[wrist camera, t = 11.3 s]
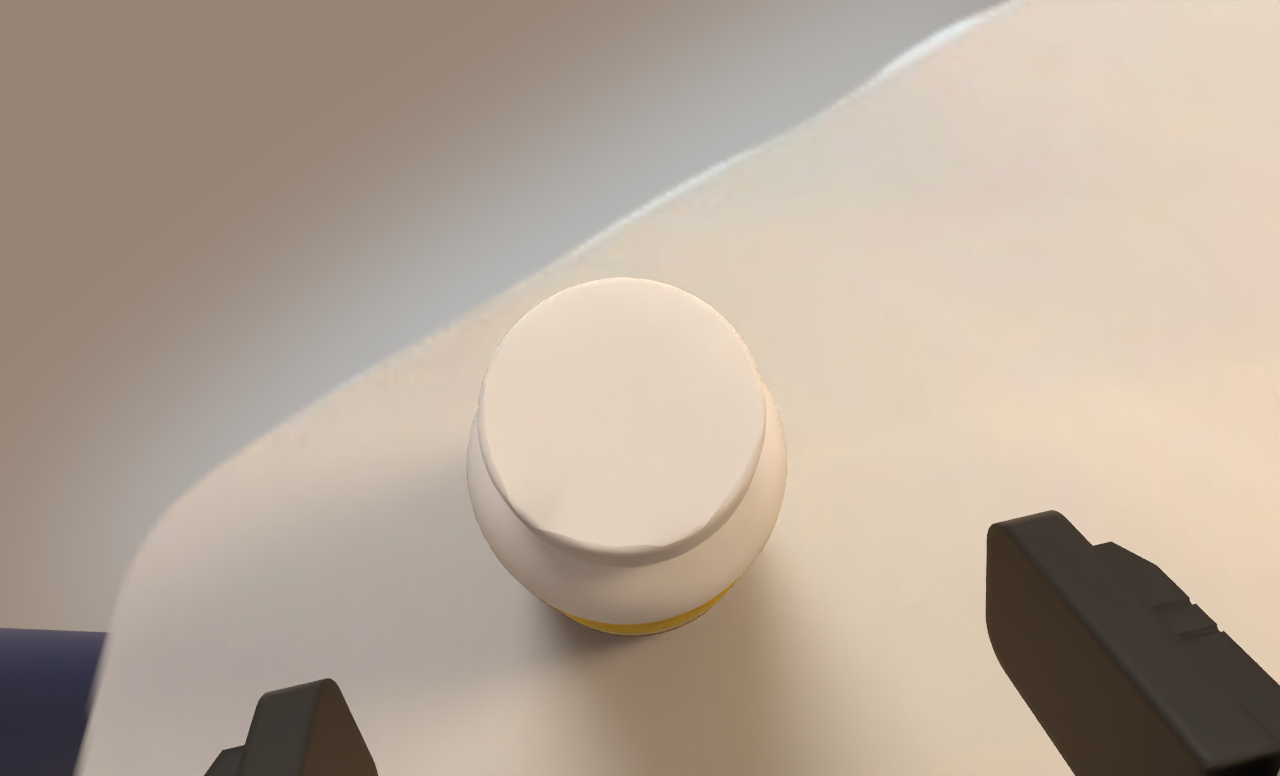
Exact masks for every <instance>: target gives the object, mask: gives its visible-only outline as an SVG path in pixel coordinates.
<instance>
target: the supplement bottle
mask: <svg viewBox="0 0 1280 776" xmlns="http://www.w3.org/2000/svg"><path fill="white" fill-rule="evenodd" d="M786 474H787V453H786V443H785V436H784V432H783V427H782V423H781V420H780V417H779V414H778V411H777V408H776V405H775V403H774V401H773V399H772V397H771V395H770V393H769V391H768V389H767V387H766V385H765V383H764V382H763V380H762V379H761V377H760V375H759V372H758V370H757V367H756V364H755V362H754V360H753V357H752V355H751V353H750V352H749V350H748V348H747V346H746V345H745V343H744V342H743V340H742V339H741V337H740V336H739V335H738V333H737V332H736V331H735V330H734V328H733V327H732V326H731V325H730V323H729V322H728V321H727V320H726V319H725V318H724V317H723V316H722V315H721V314H720V313H718V312H717V311H716V310H715V309H713V308H712V307H711V306H709V305H708V304H707V303H705V302H704V301H702V300H701V299H699V298H697V297H696V296H694V295H692V294H690V293H688V292H686V291H684V290H681V289H679V288H677V287H674V286H671V285H667V284H664V283H660V282H657V281H653V280H647V279H640V278H607V279H599V280H594V281H590V282H585V283H582V284H579V285H576V286H573V287H570V288H567V289H564V290H562V291H560V292H558V293H556V294H554V295H552V296H551V297H549V298H547V299H545V300H544V301H542V302H541V303H539V304H538V305H537V306H535V307H534V308H532V309H531V310H530V311H529V312H527V313H526V314H525V315H524V316H523V317H522V318H521V319H520V320H519V321H518V322H517V323H516V324H515V325H514V326H513V327H512V328H511V329H510V330H509V332H508V333H507V334H506V335H505V337H504V338H503V340H502V341H501V343H500V344H499V346H498V348H497V349H496V351H495V353H494V355H493V357H492V358H491V361H490V363H489V365H488V367H487V370H486V373H485V376H484V379H483V382H482V386H481V391H480V396H479V401H478V408H477V411H476V414H475V417H474V420H473V423H472V428H471V432H470V437H469V444H468V450H467V480H468V488H469V493H470V498H471V502H472V506H473V510H474V513H475V516H476V519H477V522H478V524H479V526H480V529H481V531H482V533H483V535H484V537H485V539H486V541H487V542H488V544H489V546H490V548H491V549H492V551H493V552H494V554H495V555H496V556H497V558H498V559H499V561H500V562H501V563H502V564H503V566H504V567H505V568H506V569H507V570H508V571H509V573H510V574H511V575H512V576H513V577H514V578H515V579H516V580H517V581H519V582H520V583H521V584H522V585H523V586H524V587H525V588H526V589H527V590H528V591H530V592H531V593H532V594H533V595H535V596H536V597H538V598H539V599H541V600H542V601H543V602H545V603H547V604H549V605H550V606H552V607H554V608H555V609H557V610H559V611H560V612H562V613H563V614H565V615H567V616H568V617H570V618H571V619H573V620H575V621H577V622H578V623H580V624H582V625H585V626H587V627H590V628H592V629H595V630H598V631H601V632H604V633H608V634H613V635H620V636H647V635H654V634H660V633H663V632H667V631H671V630H673V629H676V628H679V627H681V626H683V625H685V624H688V623H690V622H691V621H693V620H695V619H696V618H698V617H700V616H701V615H702V614H704V613H705V612H706V611H708V610H709V609H710V608H711V607H712V606H713V605H714V604H716V603H717V602H718V601H719V600H720V599H721V598H722V597H723V596H724V595H725V594H726V593H727V591H728V590H729V589H730V588H731V587H732V586H733V585H734V583H735V582H736V581H737V580H738V579H739V578H740V576H741V575H742V574H743V573H744V572H745V571H746V570H747V569H748V567H749V566H750V565H751V564H752V563H753V561H754V560H755V559H756V557H757V556H758V555H759V553H760V552H761V551H762V549H763V547H764V545H765V544H766V542H767V540H768V538H769V536H770V534H771V532H772V530H773V527H774V525H775V522H776V520H777V517H778V514H779V511H780V508H781V504H782V500H783V496H784V491H785V485H786Z"/></svg>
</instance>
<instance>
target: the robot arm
mask: <svg viewBox="0 0 1280 776" xmlns="http://www.w3.org/2000/svg"><path fill="white" fill-rule="evenodd" d="M986 624H987V629H988V634H989V638H990V641H991V644H992V647H993V649H994V652H995V654H996V657H997V659H998V661H999V663H1000V665H1001V666H1002V668H1003V670H1004V671H1005V673H1006V674H1007V676H1008V677H1009V679H1010V680H1011V681H1012V683H1013V684H1014V686H1015V687H1016V689H1017V690H1018V692H1019V693H1020V695H1021V696H1022V698H1023V699H1024V701H1025V702H1026V704H1027V705H1028V707H1029V708H1030V709H1031V711H1032V712H1033V714H1034V715H1035V717H1036V718H1037V720H1038V721H1039V723H1040V724H1041V726H1042V727H1043V729H1044V730H1045V732H1046V733H1047V735H1048V736H1049V738H1050V739H1051V740H1052V742H1053V743H1054V745H1055V746H1056V748H1057V749H1058V751H1059V752H1060V754H1061V755H1062V757H1063V758H1064V760H1065V761H1066V763H1067V764H1068V766H1069V767H1070V768H1071V770H1072V771H1073V773H1074V774H1075V776H1280V685H1279V684H1278V683H1277V682H1275V681H1274V680H1273V679H1272V678H1271V677H1270V676H1269V675H1268V674H1267V673H1266V672H1265V671H1264V670H1263V669H1262V668H1261V667H1260V666H1259V665H1258V664H1257V663H1256V662H1255V661H1254V660H1253V659H1252V658H1251V657H1250V656H1249V655H1248V654H1247V653H1246V652H1245V651H1244V650H1243V649H1242V648H1241V647H1240V646H1239V645H1238V644H1237V643H1235V642H1234V641H1233V640H1232V639H1231V638H1230V637H1229V636H1228V635H1227V634H1226V633H1225V632H1224V631H1223V632H1220V631H1219V630H1218V628H1217V624H1216V623H1215V622H1214V621H1213V620H1212V619H1211V618H1210V617H1209V616H1208V615H1207V614H1206V613H1205V612H1204V611H1203V610H1202V609H1201V608H1200V607H1199V606H1198V605H1197V604H1194V605H1192V604H1191V602H1190V600H1189V597H1188V596H1187V595H1186V594H1185V593H1184V592H1183V591H1182V590H1181V589H1180V588H1179V587H1178V586H1177V585H1176V584H1175V583H1174V582H1173V581H1172V580H1171V579H1170V578H1169V577H1168V576H1167V575H1166V574H1165V573H1164V572H1163V571H1162V570H1161V569H1160V568H1159V567H1158V566H1157V565H1155V564H1153V563H1151V562H1149V561H1147V560H1145V559H1143V558H1142V557H1140V556H1138V555H1136V554H1134V553H1132V552H1130V551H1128V550H1126V549H1124V548H1122V547H1121V546H1119V545H1117V544H1115V543H1113V542H1108V543H1103V544H1099V545H1095V546H1092V545H1091V544H1090V543H1089V542H1088V541H1087V540H1086V538H1085V537H1084V536H1083V535H1082V534H1081V533H1080V532H1079V531H1078V530H1077V529H1076V528H1075V527H1074V526H1073V525H1072V524H1071V523H1070V522H1069V521H1068V520H1067V519H1066V518H1065V517H1064V516H1063V515H1062V514H1060V513H1059V512H1057V511H1053V510H1050V511H1046V512H1042V513H1037V514H1033V515H1029V516H1025V517H1020V518H1016V519H1012V520H1008V521H1003V522H999V523H995V524H992V525H991V526H990V528H989V530H988V534H987V567H986ZM204 776H378V773H377V769H376V766H375V763H374V761H373V758H372V756H371V754H370V752H369V750H368V748H367V746H366V744H365V741H364V739H363V737H362V735H361V733H360V731H359V729H358V727H357V725H356V722H355V720H354V718H353V716H352V714H351V712H350V710H349V708H348V706H347V703H346V701H345V699H344V697H343V695H342V693H341V691H340V689H339V687H338V685H337V684H336V683H335V682H334V681H333V680H332V679H330V678H327V679H323V680H318V681H314V682H310V683H306V684H301V685H297V686H293V687H289V688H284V689H280V690H276V691H271V692H267V693H265V694H264V695H263V696H262V697H261V698H260V700H259V701H258V704H257V707H256V710H255V713H254V716H253V720H252V723H251V726H250V729H249V733H248V736H247V739H246V743H245V745H243V746H239V747H235V748H230V749H226V750H222V752H221V753H220V754H219V756H218V757H217V759H216V760H215V761H214V763H213V764H212V765H211V767H210V768H209V769H208V771H207V772H206V774H205V775H204Z"/></svg>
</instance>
